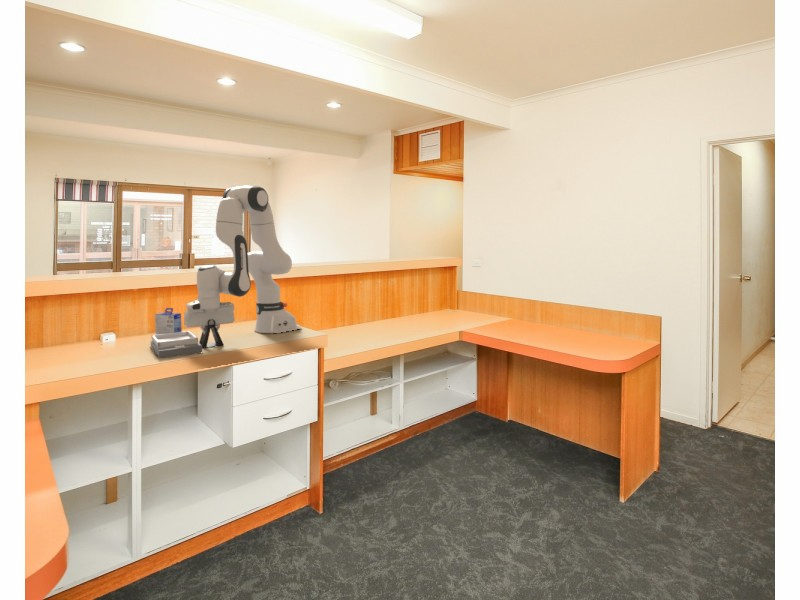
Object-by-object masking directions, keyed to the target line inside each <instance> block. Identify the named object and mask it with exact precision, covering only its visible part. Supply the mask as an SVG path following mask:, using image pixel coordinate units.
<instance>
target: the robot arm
mask: <svg viewBox="0 0 800 600" xmlns="http://www.w3.org/2000/svg"><path fill="white" fill-rule="evenodd" d="M271 207H272V206H271V205H270V203H269V195H268V193H267V191H266V190H265V189H264V188H263V187H261V186H257V185H255V186H254V185H253V186H252V185H242V186H231V187H228V188H227V189H225V190H224V192H223V194H222V199H221V201H220V202H219V205H218V207H217V208H218V209H217V213H216V220H215V234H216V237H217V238H218V239H219V241H220V242H221V243H223V244H224V245H226V246H227V247H229V249H230V250H231V252H232V255H233V256H232V259H233V272H231V271H230V272H229V271H225V270H222V269H220V268H219V267H218V266H217V265H215V264H209V265H207V264H206V265H202V266H200V267H199V268H198V269H197V272H196V288H197V299H196V300H193V301H190V302H187V303H186V306H185V307H186V310H185V312H184V319H183V323H184V324H183V325H184V326H185V327H186V328H189V329H190V328H196V327H198V328H199V327H200V329H201V331H202V332H203V333H204V335H205V332H206V331H205V330H204V328H205V326H208V320H209V319H210V320H211V321H209V325H213V324H214V321H213V320H215V322H216V323H215V326H216V328H217V331H218V332H219V329H220V328H221V325H225V324H233V323H235V313H234V310H235V305H234V303H233V302H230V301H225V302H224V301H223V302H221V295H220V294H225V295H229V296H230V295H231V296H235V297H238V298H239V297H240V298H241V297H244V296H246V295H247V294H248V293H249V291H250V290H251V286H252V283H251V278H250V275H251V277H252V279H253V282H254V285H255V289H256V302H255V304H256V305H255V313H256V322H255V327H254V332H256V333H258V334H259V333H261V334H273V333H277V334H282V333H281V332H283V333H287V332H286V331H289V332H293V331H292V330H294V331H298V330H297V329H300V330H302V326H301V325H299V324H298V323H297V319H296V317H295V315H293V314H292V312H289V311H288V310H287V309H285V308H287V307H288V303H287V302H283V301H281V287H280V285H279V283H277V282H276V281H275V280H274V279H273V277H272V275H277V276H278V275H285V274H288V273H289V272H290V270H291V269H292V265H293V261H292V257H291V256H290V255H289V254H288V253H287V252H285V250H284V249H283V248H282V247H281V245H280V243H279V241H278V238H277V233H276V229H275V222H274V221H275V220H274V216H273V215H274V214H273V210H272V208H271ZM245 212H248V215H249V216H248V218H249V226H250V234H251V240H252V241H253V242H254V244H256V246H258V247H259V248H260V250H255V251H251V252H248V243H247V240H246V238H245V235H244V231H243V229H244V228H243V224H244V213H245ZM212 319H213V320H212ZM213 335H215V334H214V333H213V334H212V336H213Z"/></svg>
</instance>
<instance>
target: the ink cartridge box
mask: <svg viewBox="0 0 800 600" xmlns="http://www.w3.org/2000/svg"><path fill="white" fill-rule="evenodd" d="M173 311H174V308H172V307H166V308H165V310H164V312H159V313H155V314H154V323H155V324H154V325H155V335H158V334H168V333H177V332H183V330H182V313H179V312H173Z"/></svg>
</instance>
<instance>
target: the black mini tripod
mask: <svg viewBox="0 0 800 600" xmlns="http://www.w3.org/2000/svg"><path fill="white" fill-rule="evenodd" d="M212 320H213V319H212ZM209 321H211V320H210V319H209V320H208V326H205V328H204V330H205V331H206V332H205V335H204V333H203V331H202V332H201V336H200V339H199V340H198V343H200V344H201V345H202V349H208V347H211V348H216V347H215V346H218V347H224V346H223V345H224V343H223V342H224V341H223V340H222V338H221V336H220V333H219V330H218V331H217V328H216V326H215V323H216V322H215V320H213V321H214V324H213V325H209ZM210 333H212V336H213V339H214V342H210V343H208V342H209V338H210ZM213 333H214V334H215V335H213Z"/></svg>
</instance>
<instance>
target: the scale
mask: <svg viewBox="0 0 800 600" xmlns="http://www.w3.org/2000/svg"><path fill="white" fill-rule="evenodd" d="M150 349H152V351H153V352H154V354H155V355H156V356H157V357H158V359H166V358H173V357H180V356H188V355H195V353H196V354H202V353H203V348H202V345H201V344H200V343H199V339H198V337H197V336H196V335H195V334H194V333H193V332H192V331H190V330H187V331H182V332H177V333H168V334H158V335H156V334H152V335H151V340H150ZM201 352H202V353H201Z"/></svg>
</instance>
